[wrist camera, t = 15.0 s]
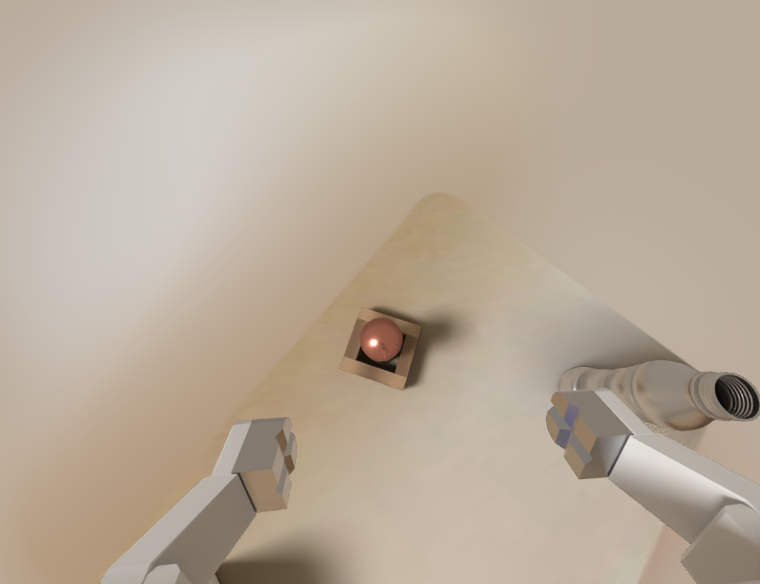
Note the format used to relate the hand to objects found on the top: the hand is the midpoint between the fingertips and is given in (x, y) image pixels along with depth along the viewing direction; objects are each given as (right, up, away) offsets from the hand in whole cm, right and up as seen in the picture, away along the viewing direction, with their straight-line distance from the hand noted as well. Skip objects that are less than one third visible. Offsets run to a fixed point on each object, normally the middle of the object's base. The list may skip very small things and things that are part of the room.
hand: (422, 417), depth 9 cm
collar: (-1, -5, +35) cm, 35 cm away
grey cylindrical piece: (-1, -5, +35) cm, 35 cm away
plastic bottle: (+26, -10, +33) cm, 44 cm away
